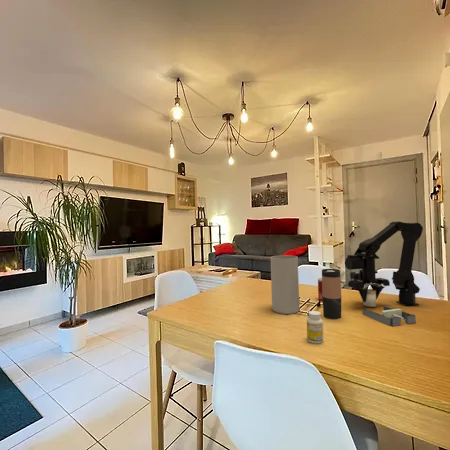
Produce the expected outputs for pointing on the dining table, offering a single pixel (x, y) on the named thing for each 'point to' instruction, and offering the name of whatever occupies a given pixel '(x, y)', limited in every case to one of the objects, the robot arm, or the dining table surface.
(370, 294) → the jar
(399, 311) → the pusher
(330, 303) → the travel mug
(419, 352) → the dining table surface
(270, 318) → the dining table surface
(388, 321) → the grey u-shaped frame
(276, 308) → the cylinder vase
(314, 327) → the supplement bottle
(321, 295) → the canned food
